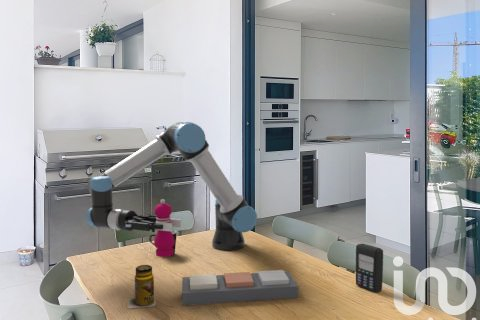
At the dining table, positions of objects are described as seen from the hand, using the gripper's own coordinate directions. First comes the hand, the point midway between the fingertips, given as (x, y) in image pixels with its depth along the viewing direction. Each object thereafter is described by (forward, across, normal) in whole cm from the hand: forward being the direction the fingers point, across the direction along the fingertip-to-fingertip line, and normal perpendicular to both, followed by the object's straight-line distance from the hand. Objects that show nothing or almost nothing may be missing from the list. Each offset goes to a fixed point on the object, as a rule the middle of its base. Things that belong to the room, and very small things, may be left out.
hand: (176, 225), depth 151 cm
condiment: (-4, +16, -22) cm, 28 cm away
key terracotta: (+22, -4, -20) cm, 30 cm away
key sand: (+12, +2, -20) cm, 23 cm away
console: (+22, -4, -23) cm, 32 cm away
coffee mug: (-26, -29, -23) cm, 45 cm away
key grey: (+32, -10, -20) cm, 39 cm away
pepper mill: (-5, 0, -11) cm, 12 cm away
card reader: (+61, -25, -23) cm, 70 cm away
